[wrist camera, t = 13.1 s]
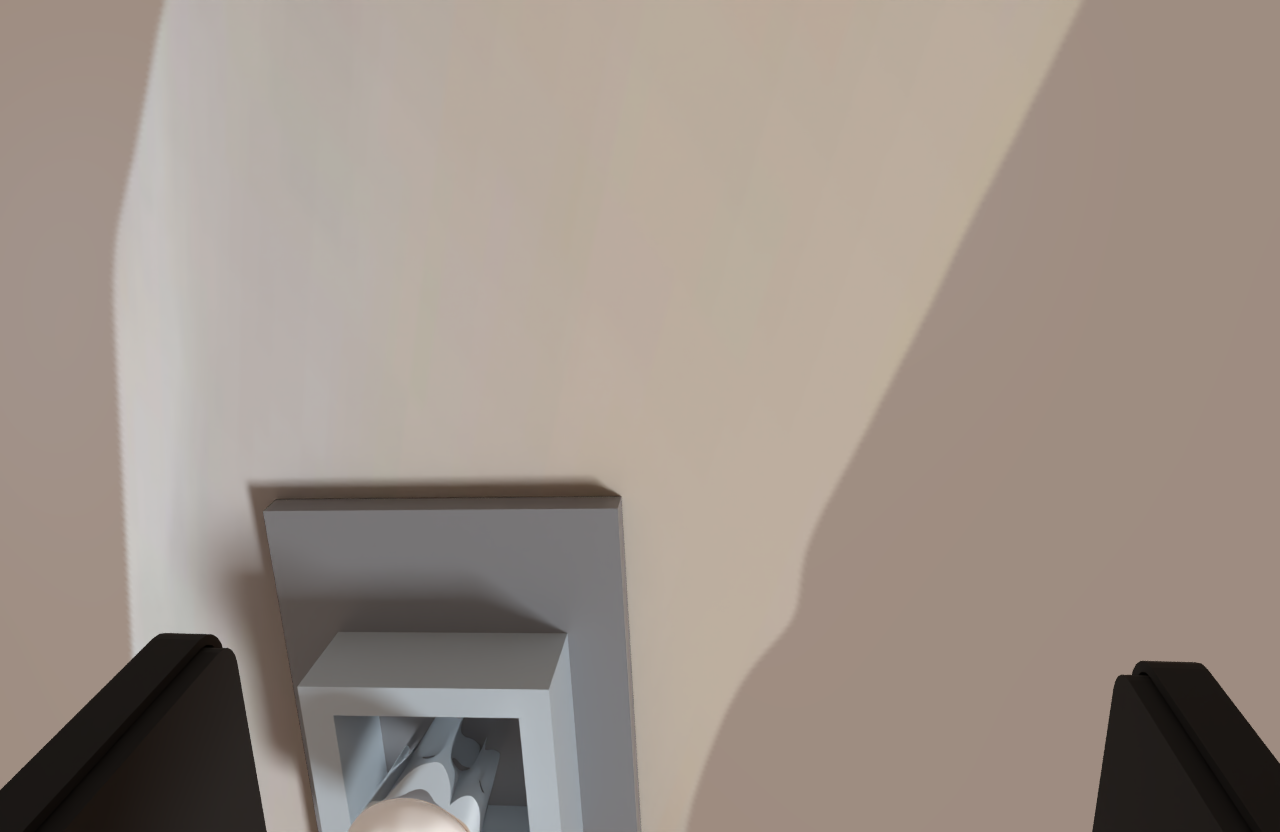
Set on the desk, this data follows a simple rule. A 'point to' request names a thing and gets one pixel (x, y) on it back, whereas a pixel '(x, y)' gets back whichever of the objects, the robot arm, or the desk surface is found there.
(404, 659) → the housing
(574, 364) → the desk surface
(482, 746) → the milkshake
